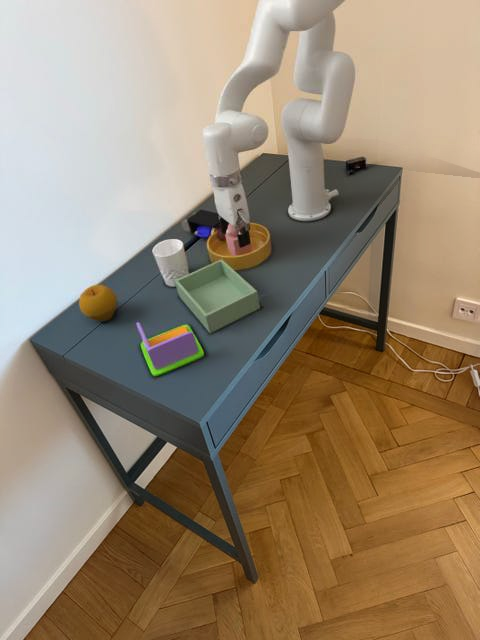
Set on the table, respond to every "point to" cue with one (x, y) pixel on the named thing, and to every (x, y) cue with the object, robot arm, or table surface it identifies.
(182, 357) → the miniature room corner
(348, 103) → the robot arm
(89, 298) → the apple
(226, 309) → the tub
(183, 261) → the white cup
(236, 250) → the toy bear
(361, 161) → the wireless earbuds
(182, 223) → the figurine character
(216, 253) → the bowl
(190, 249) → the table surface
